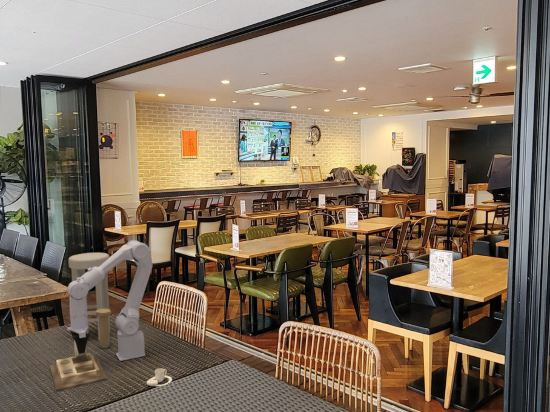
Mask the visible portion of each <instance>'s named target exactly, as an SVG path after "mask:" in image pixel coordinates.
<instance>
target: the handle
mask: <svg viewBox="0 0 550 412" xmlns="http://www.w3.org/2000/svg"><path fill="white" fill-rule="evenodd" d="M95 311H96V315H95V316H99V337H100V341H99V344H100V347H101V349H107V348H110V341H111V340H110V339H111V338H110V337H111V334H110V332H111V330H110V331H109V323H108V316H110V315H111V314H112V310H111V309H110V308H109V309H98V310H97V309H96V310H95ZM99 337H98V338H99Z"/></svg>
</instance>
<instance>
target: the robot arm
mask: <svg viewBox="0 0 550 412" xmlns="http://www.w3.org/2000/svg"><path fill="white" fill-rule="evenodd" d="M151 253H152V251H151V249H150V247H149V246H148V244H146V243H144V242H140V241H139V240H136V239H131V240H130V241H128V242H127V243H125V244H124V245H122V246H121V247H120V248H119V249H118V250H117V251H116V252H114V253H113V254H112V255H111V256H109V259H107V260H106V261H105V262H104V263H103V264H102V265H101V266H99V267H93V268H89V269H87V271H85V274H84V275H82V276H81V277H80V278H79V277H78V278H77V280H78V281H73V282H72V281H71V282H70V283H68V286H67V287H66V288H67V289H66V293H67V294H68V295H69V297H68V298H69V319H70V326H69V327H66V329H67V331H68V332H70V334H71V337H72V339H73V341H74V340H75V342H76V346H77V350H78V353H79V354H82V353H85V350H87V343H88V340H89V338H90V336H91V335H90V334H91V333H87V334H86V331H87V329H88V328H90V327H89V322H88V319H89V317H88V318H87V311H88V309H87V305H88V300H87V301H86V296H87V297H88V293H89V291H91V290H92V289H93V288H94V287H96V285H97V284H98V283H99V282H100V281H102V280H103V279H104V277H105V273H107V274H108V272H109V271H111V270H113V269H114V268H115V267H116V266H118V265H119V264H121V263H122V262H123V261H134V263H135V264H136V266H137V268H136V271H135V274H134V277H133V280H132V284H131V286H130V289H129V293H128V295H127V299H126V302H125V304H124V307H122V308H121V310H120V313H119V314H118V315H117V316H116V318H115V321H114V322H115V323H114V324H115V326H116V327H117V328H118V330H117V333H116V334H117V350H118V352H115V355H116V357H117V358H118V361H120V362H122V361H126V360H131V359H132V360H133V359H137V358H140V357H141V358H142V357H145V356H146V351H145V349H146V347H145V337H144V336H145V335H144V332H143V331H142V330H139V327H140V325H139V320H140V306H141V304H142V301H143V297H144V294H145V291H146V288H147V284H148V282H149V278H150V276H151V273H152V269H153V265H154V264H153V260H152V254H151Z"/></svg>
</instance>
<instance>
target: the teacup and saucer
mask: <svg viewBox="0 0 550 412" xmlns="http://www.w3.org/2000/svg"><path fill="white" fill-rule="evenodd" d="M167 371H168V370H167V369H165V368H156V369H155V370H154V376H153V377H151V378H149V379H148V380H147V381H146V385H147V386H150V387H163V386H166V385H169V384H171V382H172V381H173V378H172V377H171V376H169V375H167V374H168V373H167ZM165 378H167V379H168V381H167V382H165V383H163V382H164V379H165ZM159 383H163V384H159ZM168 383H169V384H168Z"/></svg>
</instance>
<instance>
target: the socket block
mask: <svg viewBox="0 0 550 412" xmlns="http://www.w3.org/2000/svg"><path fill="white" fill-rule="evenodd" d="M49 369H50V371H51V372H50V373H51V376H52V379H53V384H54V388H55V391H56V392H58V391H59V392H60V391H63V390H68V389H72V388H77V387H80V386H86V385H90V384H93V383H94V384H95V383H98V382H103V381H107V380H108V376H107V375H106V373H105V371H104V368H103V367H102V365H101V362H100V361H99V359H98V358H97V355H94V356H93V354H92V353H91V352H89V353H87V358H86V359H84V360H75V356H71V357H66V358H62V359H61V358H60V359H56V362H55V364H49Z"/></svg>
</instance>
